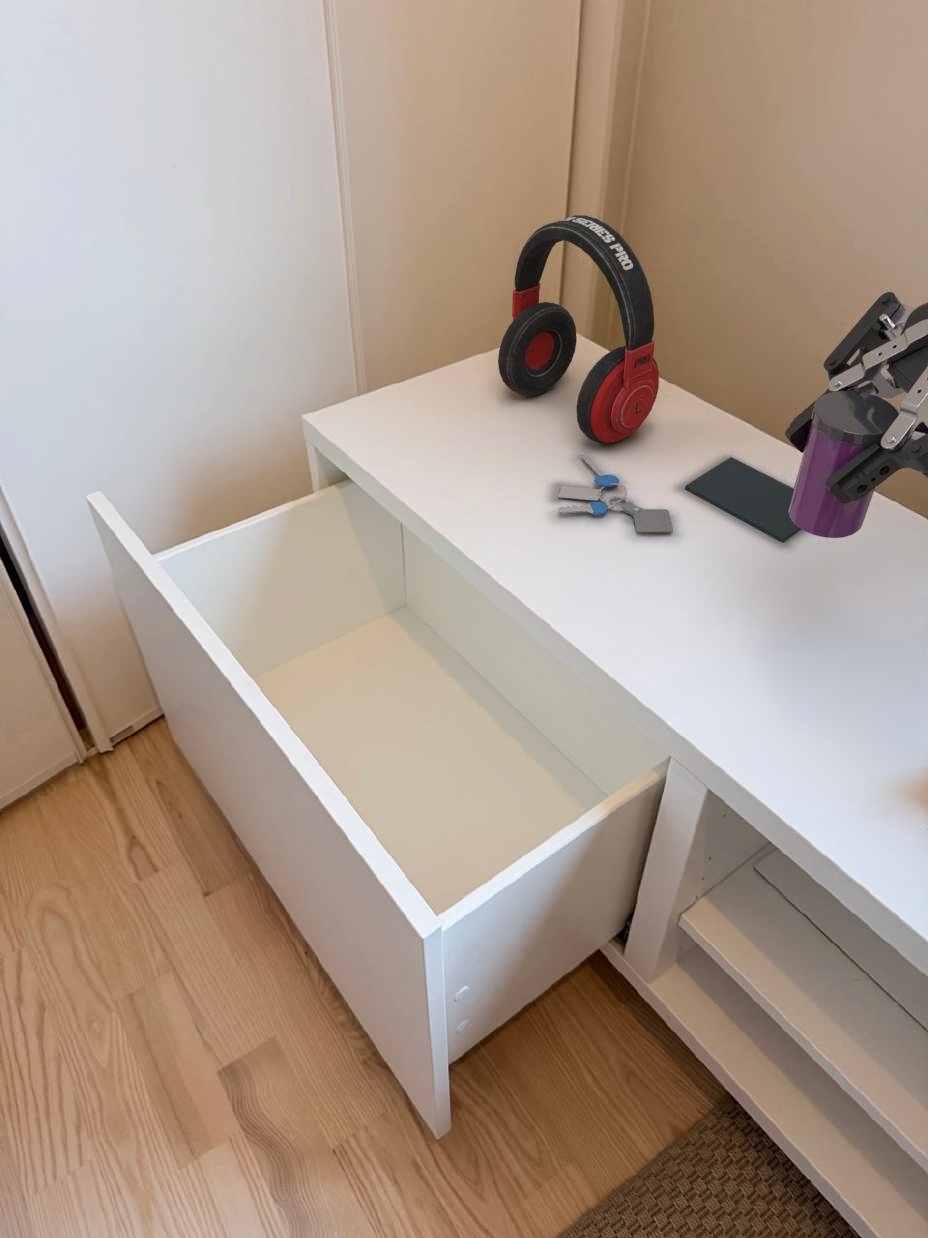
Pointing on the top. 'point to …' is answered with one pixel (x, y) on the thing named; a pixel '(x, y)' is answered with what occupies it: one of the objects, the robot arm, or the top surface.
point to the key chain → (643, 517)
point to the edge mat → (748, 497)
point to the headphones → (548, 336)
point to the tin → (836, 460)
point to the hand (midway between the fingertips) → (813, 467)
